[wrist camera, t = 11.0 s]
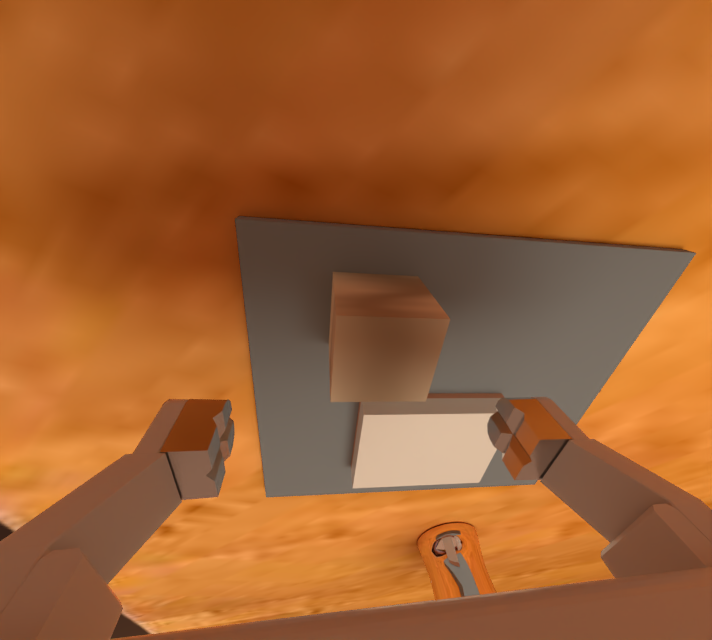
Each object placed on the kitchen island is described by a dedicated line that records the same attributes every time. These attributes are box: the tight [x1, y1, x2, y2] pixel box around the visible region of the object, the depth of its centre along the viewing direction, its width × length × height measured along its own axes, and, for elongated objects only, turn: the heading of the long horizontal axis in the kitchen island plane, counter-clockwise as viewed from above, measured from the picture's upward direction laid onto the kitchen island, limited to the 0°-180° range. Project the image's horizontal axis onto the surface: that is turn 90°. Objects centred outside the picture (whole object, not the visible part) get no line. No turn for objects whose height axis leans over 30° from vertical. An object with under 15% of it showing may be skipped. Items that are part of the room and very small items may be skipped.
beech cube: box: [329, 272, 450, 402], centre depth 13 cm, size 4×4×4 cm
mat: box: [235, 216, 696, 497], centre depth 18 cm, size 22×20×1 cm
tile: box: [351, 393, 505, 488], centre depth 19 cm, size 2×7×9 cm
